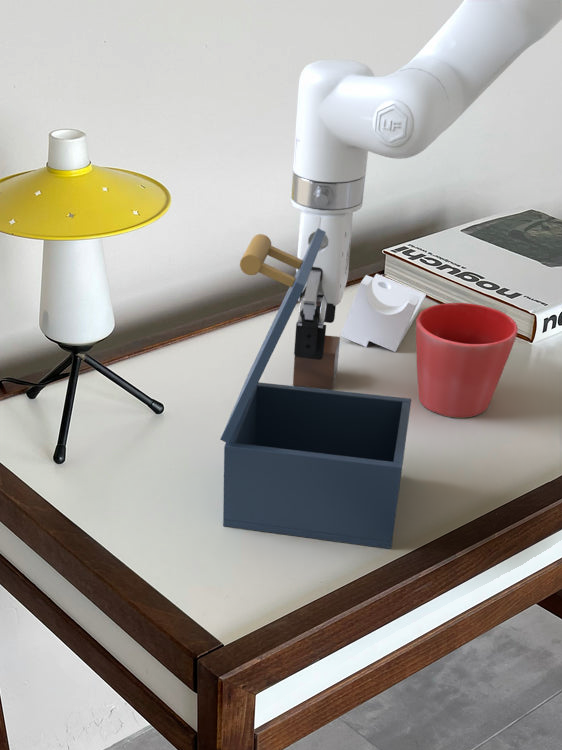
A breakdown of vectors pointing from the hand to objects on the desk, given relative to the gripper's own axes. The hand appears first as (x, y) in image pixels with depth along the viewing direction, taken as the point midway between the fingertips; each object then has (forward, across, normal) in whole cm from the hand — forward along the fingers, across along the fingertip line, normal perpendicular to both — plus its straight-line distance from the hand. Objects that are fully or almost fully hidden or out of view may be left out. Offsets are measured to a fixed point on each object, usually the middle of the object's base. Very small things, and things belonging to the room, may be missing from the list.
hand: (314, 338), depth 116 cm
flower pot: (+5, -2, -16) cm, 17 cm away
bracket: (+5, +16, -8) cm, 18 cm away
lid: (-12, -25, +1) cm, 28 cm away
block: (+5, 0, 0) cm, 5 cm away
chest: (+5, -25, -4) cm, 26 cm away
